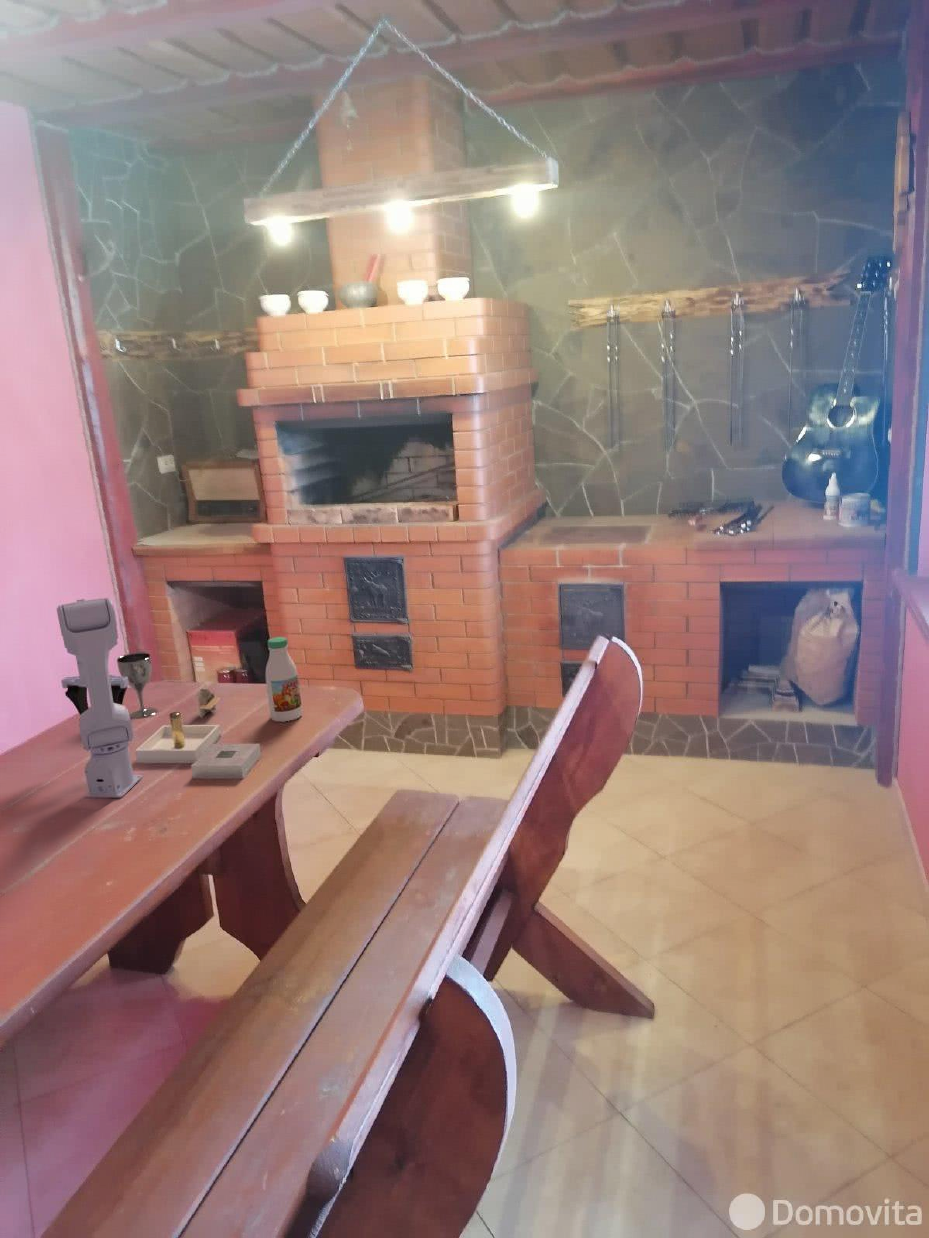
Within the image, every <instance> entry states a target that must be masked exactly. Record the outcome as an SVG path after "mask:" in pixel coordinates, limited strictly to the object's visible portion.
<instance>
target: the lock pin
mask: <svg viewBox="0 0 929 1238" xmlns="http://www.w3.org/2000/svg"><path fill="white" fill-rule="evenodd" d="M168 715H169V716H168V717H169V721H170V725H171V729H172V735H173V741H174V747H175V748H176V749H180V748H183V747H185V739H184V733H183V727H182V725H183V720H182V714H181V712H180V711H172V712H170V713H169V714H168Z"/></svg>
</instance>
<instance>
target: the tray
mask: <svg viewBox="0 0 929 1238" xmlns="http://www.w3.org/2000/svg"><path fill="white" fill-rule="evenodd" d="M182 727H183V733H184V739H185V747H183V748H180V749H176V748H175V747H174V741H173V735H172V729H171V724H170V725H168V724H167V725H164V724H163V725H162V726H161V727H160V728H159V729H157V730H156V731H155V732H154V733H153V734H152V735H151V736H149V738H148V739H147V738H146V740H145V741H144V742H143V743H142V744H141V745H139V746H138V747H137V748H136V749H135V750H134V754H135V759H136V763H137V764H193V763H194V762H195V761H196V760H197V759H198V758H199V757H200V756H201V755H202V754H203V753H204V752H205V751H206V750H207V749H208V748H209V747H210V745H211V744H217V742H218V741H219V740H220V739H221V738H222V733H221V726H220V724H191V725H190V724H182Z"/></svg>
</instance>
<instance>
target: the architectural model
mask: <svg viewBox="0 0 929 1238" xmlns="http://www.w3.org/2000/svg"><path fill="white" fill-rule="evenodd" d="M196 696H197V702H198V710H199V714H200V718H201V719H202V718H203V717H204V716H205V715H206V714H207V713H213V712H214V710H216V709H217V708H216V703H218V701H219V700H220V699H221V697H220V696H216V697H215V693H214V691H212V692H211V690H210V689H209V688H208V687H207V685H206V683H204V684H203V685H201V687H200V688H199V689H198V690H197V691H196Z"/></svg>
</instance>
